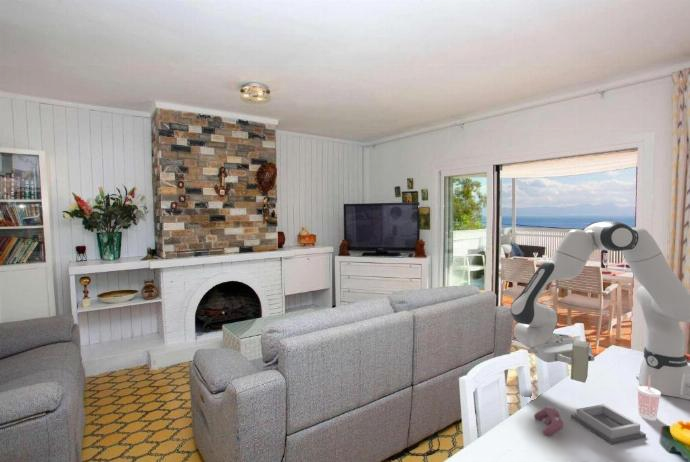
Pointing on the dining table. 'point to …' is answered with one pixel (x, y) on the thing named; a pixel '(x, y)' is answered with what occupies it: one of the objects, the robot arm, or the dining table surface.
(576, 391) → the dining table surface
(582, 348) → the skincare box
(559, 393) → the dining table surface
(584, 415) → the socket dock
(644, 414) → the beverage cup
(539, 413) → the video game controller
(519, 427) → the dining table surface
